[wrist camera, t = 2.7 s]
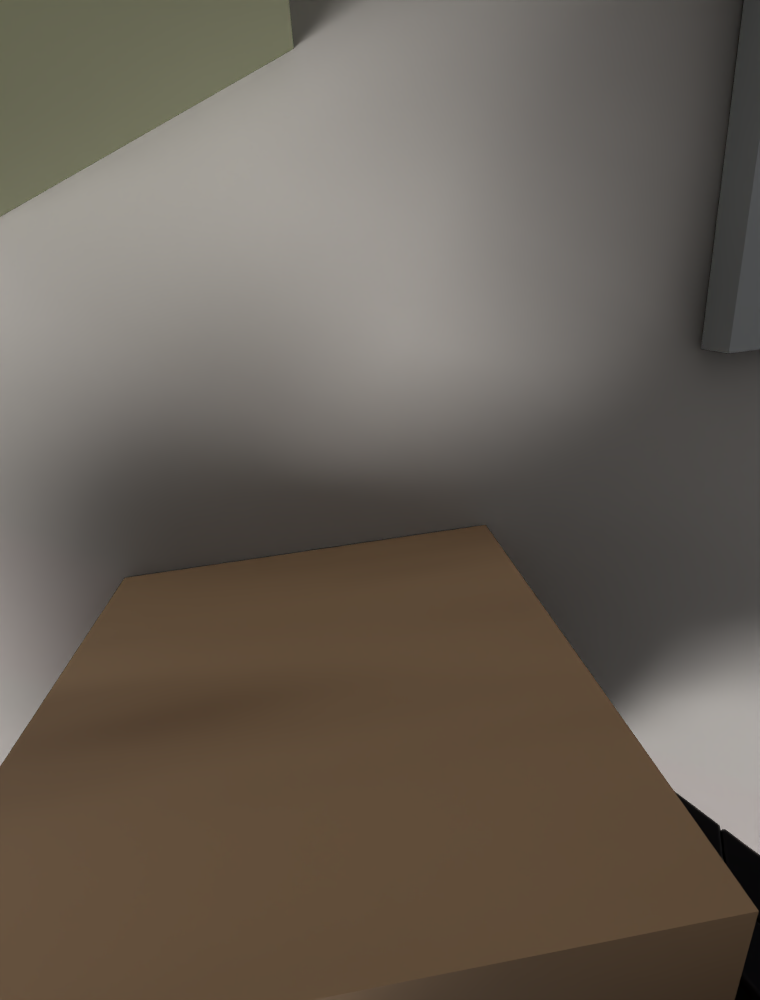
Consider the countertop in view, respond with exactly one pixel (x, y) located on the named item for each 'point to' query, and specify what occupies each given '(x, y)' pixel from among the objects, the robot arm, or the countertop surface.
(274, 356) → the countertop surface
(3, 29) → the olive block
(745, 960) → the robot arm
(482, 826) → the walnut cube
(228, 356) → the countertop surface
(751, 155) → the slate coaster
